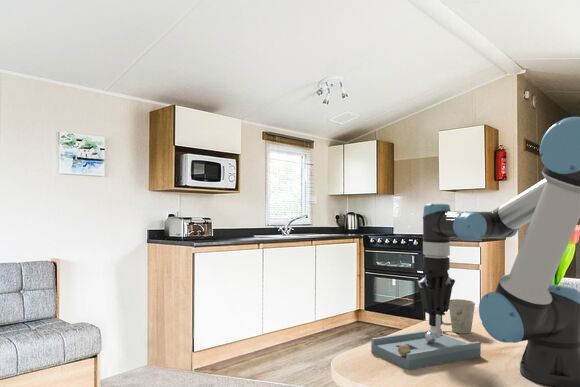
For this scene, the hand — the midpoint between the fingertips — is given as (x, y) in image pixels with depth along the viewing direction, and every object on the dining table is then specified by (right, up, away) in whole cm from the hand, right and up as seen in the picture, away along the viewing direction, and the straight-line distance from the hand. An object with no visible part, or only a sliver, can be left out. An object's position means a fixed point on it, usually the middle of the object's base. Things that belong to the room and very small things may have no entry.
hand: (435, 336), depth 138 cm
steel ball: (-2, 0, -1) cm, 2 cm away
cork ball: (-12, 0, -14) cm, 18 cm away
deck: (-4, -4, -4) cm, 7 cm away
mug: (+13, -5, +22) cm, 26 cm away
